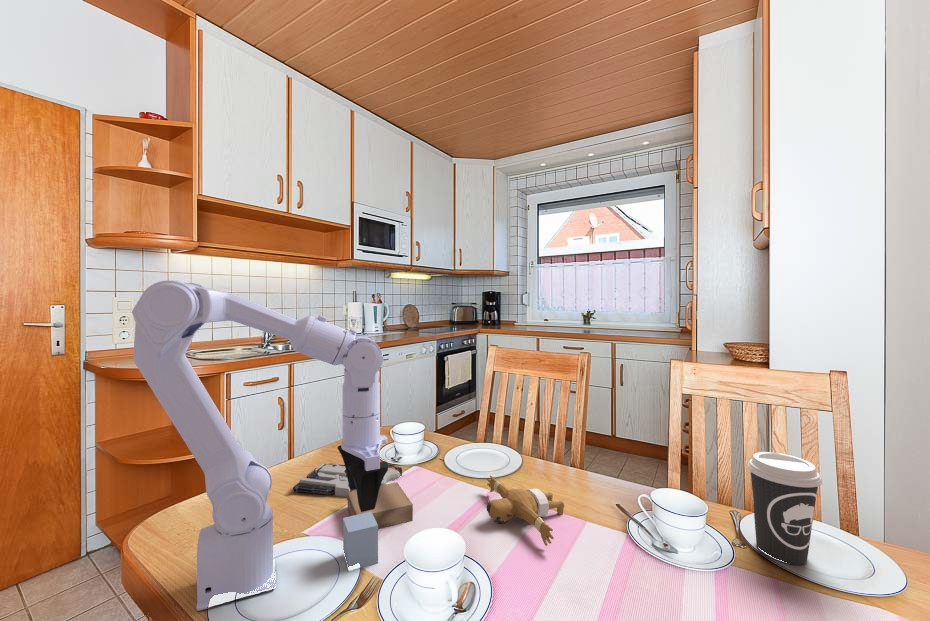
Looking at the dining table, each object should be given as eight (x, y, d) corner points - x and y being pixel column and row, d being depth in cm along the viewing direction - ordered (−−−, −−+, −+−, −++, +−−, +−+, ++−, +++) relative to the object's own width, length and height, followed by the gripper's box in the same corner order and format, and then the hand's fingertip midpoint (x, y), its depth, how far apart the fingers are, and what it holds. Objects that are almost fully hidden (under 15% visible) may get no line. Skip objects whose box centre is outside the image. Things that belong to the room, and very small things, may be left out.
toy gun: (405, 475, 96) (380, 508, 81) (329, 465, 99) (292, 496, 85) (405, 463, 96) (380, 494, 81) (329, 454, 99) (292, 483, 84)
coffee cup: (820, 550, 66) (822, 460, 66) (819, 580, 59) (822, 479, 59) (749, 528, 72) (751, 445, 72) (741, 553, 65) (743, 461, 65)
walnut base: (357, 533, 70) (357, 516, 70) (347, 507, 79) (347, 492, 79) (412, 520, 75) (412, 504, 75) (397, 496, 84) (397, 482, 84)
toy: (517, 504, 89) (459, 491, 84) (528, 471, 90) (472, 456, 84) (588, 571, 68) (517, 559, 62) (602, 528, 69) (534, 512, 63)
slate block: (348, 571, 61) (348, 532, 60) (343, 554, 65) (343, 517, 64) (378, 563, 63) (378, 525, 62) (371, 547, 67) (371, 511, 66)
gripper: (400, 421, 59) (400, 514, 59) (375, 399, 72) (375, 475, 72) (351, 428, 56) (351, 526, 56) (333, 404, 68) (334, 483, 69)
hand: (361, 498), depth 64 cm, fingers open, 7 cm apart
